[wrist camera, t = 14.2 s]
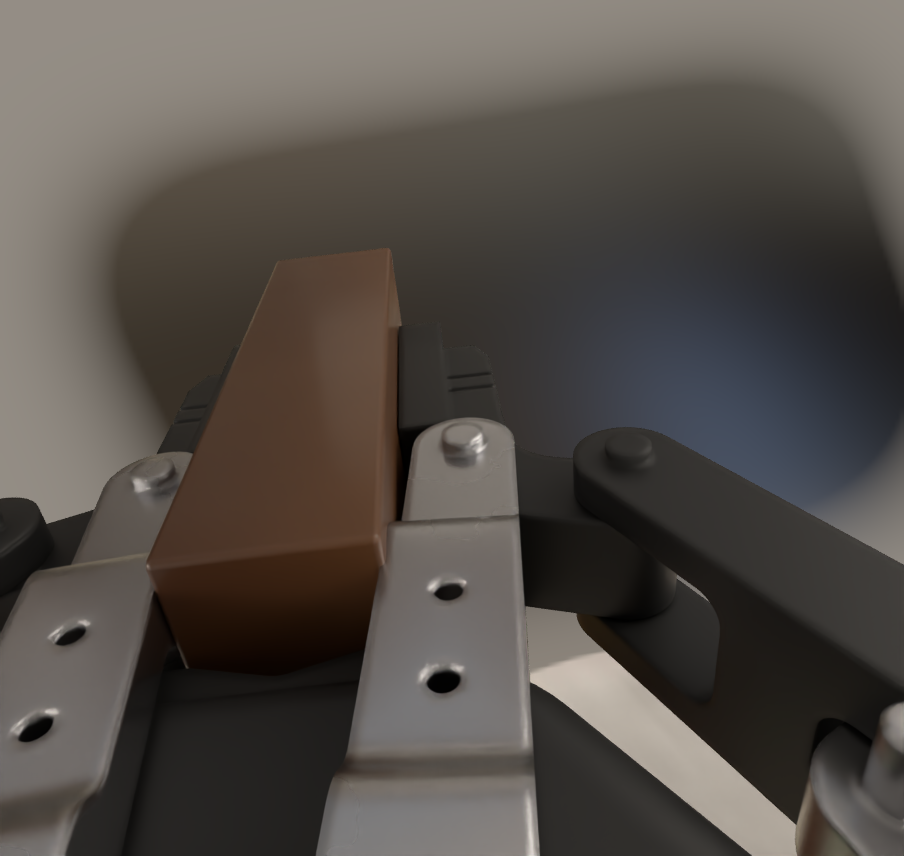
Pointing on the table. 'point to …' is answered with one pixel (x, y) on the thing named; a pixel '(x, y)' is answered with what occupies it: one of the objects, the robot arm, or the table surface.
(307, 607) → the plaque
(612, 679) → the table surface
